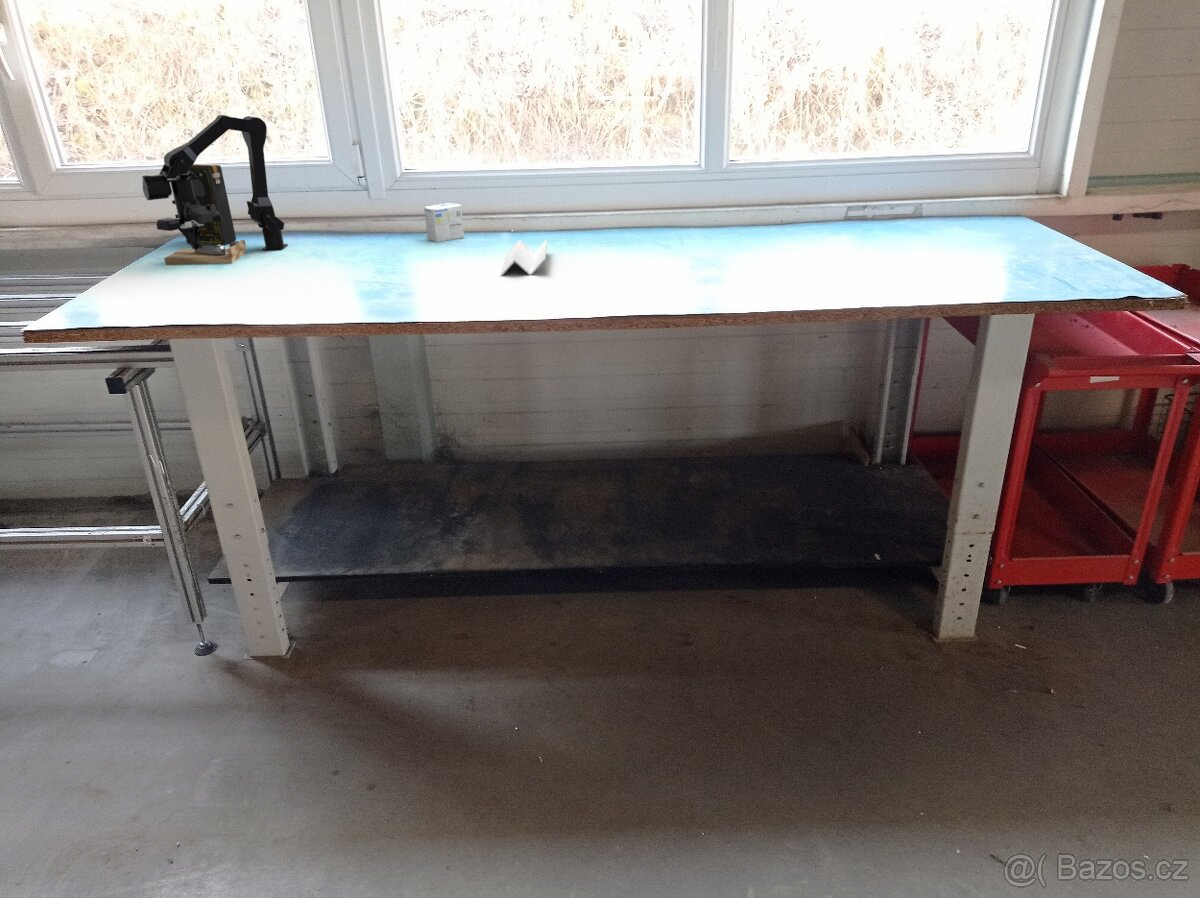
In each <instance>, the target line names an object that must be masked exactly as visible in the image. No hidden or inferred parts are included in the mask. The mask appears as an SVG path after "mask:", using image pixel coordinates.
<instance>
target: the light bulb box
mask: <svg viewBox="0 0 1200 898" xmlns="http://www.w3.org/2000/svg"><path fill="white" fill-rule="evenodd" d="M423 209H424V217H425V224H426V225H425V227H426V234H427V235H426V236H427V240H428V241H431V242H435V243H439V242H440V243H441V242H446V241H451V240H456V239H457V240H458V239H461V238H462V239H463V238H465V234H464V224H463V223H464V221H463V213H462V205H461V204H459V203H454V202H448V203H441V204H434V205H430V206H429V205H428V206H424V207H423Z"/></svg>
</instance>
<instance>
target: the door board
mask: <svg viewBox="0 0 1200 898" xmlns="http://www.w3.org/2000/svg"><path fill="white" fill-rule="evenodd" d="M246 248H247V244H246V240H245V239H241V240H239V241H238V240H236V241H233V242H231V243H229V247H228V246H226V247H225V252H226V254H224V255H214V254H204V253H195V250H194V248H181V249H179V250H177V251H174V252H173V253H171V254H169V255H167V256H166V257H164V259H163V260H164V263H165V265H166V266H177V265H179V266H182V265H184V264H185V265H217V263H224V264H233V263H235V262H237V261H238V260H239V259H241V258H242V257H244V256H245V255H246V254H247V252H246ZM244 254H245V255H244ZM241 256H242V257H241ZM240 257H241V258H240ZM237 259H238V260H237ZM234 261H235V262H234ZM212 263H213V264H212Z"/></svg>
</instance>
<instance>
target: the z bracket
mask: <svg viewBox="0 0 1200 898" xmlns="http://www.w3.org/2000/svg"><path fill="white" fill-rule="evenodd" d="M547 250H548V239H545V240H544V241H543V243H542V244H541V245H540V246H539V247H538V248H537V249H536V250H535V251H534V252H533V250H532V249H530V248H529V247H528V246H527V245H526V244H525V243H523V241H522V240H521V239H519V240H518V241H517V242H516V243H515V244H514V245H513V246H512V248H511V249H510V250H509V251H508V252H506V255H505V258H504V261H503V264H502V267H501V271H500V274H499V277H502V276H503V275H504V274H505V273H506V272H508V270H509V269H510V268H511V267H512V266H513V265H514V264H515V263H516V265H518V267H520V268H521V269H522V270H523V271H524V272H525V273H526V274H528V276H533V274H534V273H536V271H537V270H538V269H539V268H540V266H542V265H543V264H544V262H546V259H547Z"/></svg>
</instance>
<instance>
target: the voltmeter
mask: <svg viewBox="0 0 1200 898" xmlns="http://www.w3.org/2000/svg"><path fill="white" fill-rule="evenodd" d="M188 171H191V172H192V173H193V174H194V175H196V176H197V177H199V179H196V180H192V185H193V190H194V194H195V199H199V201H200V205H201V206H206V205H209V204H213V205H214V206H215V208H216V211H218V212H219V213H220V214H221V217H222V220H221V221H217V222H213V221H212V222H210V223H209V222H207V223H204V224H206V225H207V226H206V227H204V228H203V229H202V230H201V234H200V239H199V243H205V244H215V245H218V244H221V245H225V246H226V245H228V244H230V243H231V242H233V241H237V237H236V232H235V227H234V222H233V217H232V213H231V209H230V207H231V206H230V204H229V203H230V202H229V197H228V194H227V190H226V184H225V180H224V179H225V178H224V175H223V174H224V173H223V169H222V166H221V165H219V164H193V165H192V166H191V168H190V169H189V170H188ZM188 171H187V172H186V173H183V174H187V173H188ZM181 174H182V173H180V174H179V175H181ZM175 178H176V177H175ZM172 179H174V178H172ZM185 239H186V238H185ZM186 243H187V244H189V245H191V244H190V243H189V241H188V240H187V239H186Z"/></svg>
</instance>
